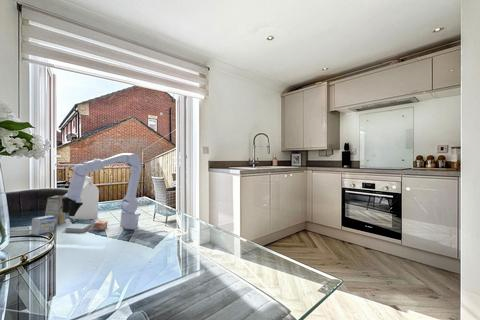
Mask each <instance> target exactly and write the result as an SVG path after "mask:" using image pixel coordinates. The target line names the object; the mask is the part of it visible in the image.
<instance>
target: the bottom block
mask: <svg viewBox="0 0 480 320" xmlns="http://www.w3.org/2000/svg"><path fill="white" fill-rule="evenodd" d="M91 230H93V227H90V228H89V229H88V230H86V231H84V232H83V233H82V234H86V233H87V232H88V231H91ZM62 233H66V234H81V233H80V232H65V230H64V231H62Z"/></svg>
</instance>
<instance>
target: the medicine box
mask: <svg viewBox="0 0 480 320" xmlns="http://www.w3.org/2000/svg"><path fill="white" fill-rule="evenodd" d="M55 227H56V226H55V216H52V215H48V216H45V215H44V216H38V217H33V218H32V219H31V227H30V228H31V229H30V235H35V236H39V235H43V234H47V233H51V232H54V231H55Z"/></svg>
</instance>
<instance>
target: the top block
mask: <svg viewBox="0 0 480 320" xmlns="http://www.w3.org/2000/svg"><path fill="white" fill-rule="evenodd" d="M89 228H91V224H90V223H89V224H88V223H72V224H70V225H68V226H67V227H65V230H64V231H65V232H80V233H79V234H84V233H83V232H84V231H86V230H88V229H89Z"/></svg>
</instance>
